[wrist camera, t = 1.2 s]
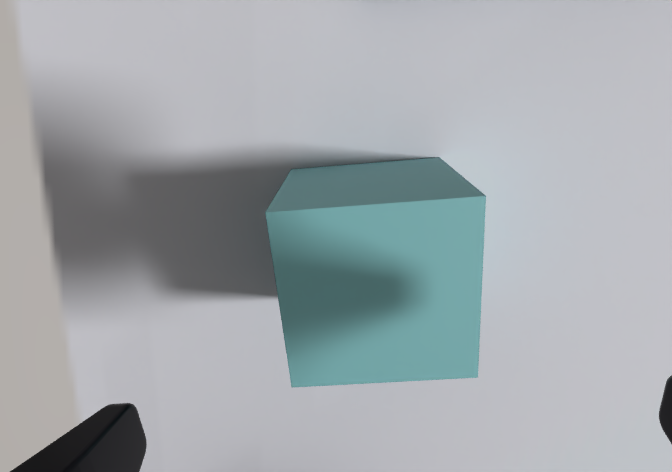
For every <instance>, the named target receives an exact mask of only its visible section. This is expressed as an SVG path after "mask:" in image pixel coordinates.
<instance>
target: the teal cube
mask: <svg viewBox="0 0 672 472" xmlns="http://www.w3.org/2000/svg"><path fill="white" fill-rule="evenodd" d="M485 204H486V196H485V195H484V194H483V193H482V192H480V191H479V190H478V189H477V188H476V187H474V186H473V185H472V184H471V183H470V182H468V181H467V180H466V179H465V178H464V177H462V176H461V175H460V174H459V173H458V172H456V171H455V170H454V169H453V168H452V167H450V166H449V165H448V164H447V163H445V162H444V161H443V160H442V159H441V158H439V157H437V158H425V159H412V160H400V161H387V162H375V163H362V164H350V165H337V166H325V167H313V168H300V169H291V171H290V172H289V174H288V176H287V177H286V179H285V181H284V182H283V184H282V186H281V187H280V189H279V191H278V192H277V194H276V196H275V197H274V199H273V200H272V202H271V204H270V205H269V207H268V209H267V210H266V212H265V214H266V221H267V227H268V234H269V241H270V247H271V254H272V260H273V267H274V274H275V280H276V287H277V293H278V300H279V307H280V313H281V320H282V326H283V333H284V340H285V346H286V353H287V359H288V366H289V373H290V379H291V386H292V387H308V386H327V385H346V384H364V383H383V382H402V381H420V380H439V379H458V378H477V377H478V361H479V339H480V316H481V294H482V271H483V249H484V226H485Z"/></svg>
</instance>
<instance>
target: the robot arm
mask: <svg viewBox="0 0 672 472" xmlns="http://www.w3.org/2000/svg"><path fill="white" fill-rule="evenodd" d="M659 420H660V424H661V426H662V429H663V430H664V432H665V434H666V436H667V437H668V439H669V440H670V442H671V444H672V376H670V377H669V378H668V379H667V382H666V385H665V390H664V394H663V398H662V402H661V406H660V411H659ZM145 452H146V437H145V433H144V430H143V427H142V424H141V421H140V418H139V414H138V411H137V409H136V407H135V406H134V405H133V404H130V403H122V404H110V405H107V406H106V407H104V408H102V409H101V410H100V411H98V412H97V413H95V414H94V415H92V416H91V417H89V418H88V419H86V420H85V421H83V422H82V423H81V424H79V425H78V426H76V427H75V428H73V429H72V430H70V431H69V432H67V433H66V434H65V435H63V436H62V437H60V438H59V439H57V440H56V441H54V442H53V443H51V444H50V445H48V446H47V447H46V448H44V449H43V450H41V451H40V452H38V453H37V454H35V455H34V456H32V457H31V458H29V459H28V460H27V461H25V462H24V463H22V464H21V465H19V466H18V467H16V468H15V469H13V470H12V471H10V472H139V471H140V468H141V465H142V462H143V459H144V456H145Z"/></svg>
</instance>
